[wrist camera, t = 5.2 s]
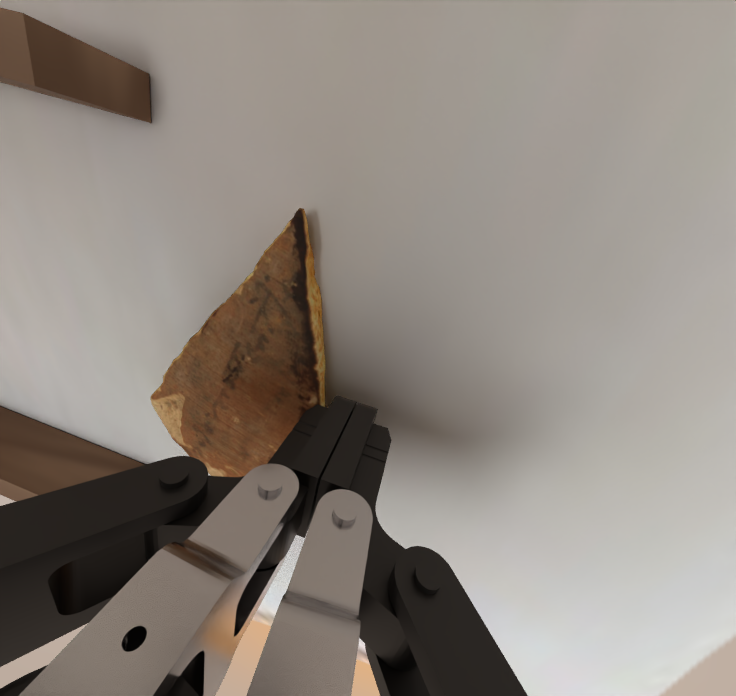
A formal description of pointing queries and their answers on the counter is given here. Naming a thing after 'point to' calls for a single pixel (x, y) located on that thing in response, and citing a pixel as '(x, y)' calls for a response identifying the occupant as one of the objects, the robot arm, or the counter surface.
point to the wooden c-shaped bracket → (99, 90)
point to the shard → (251, 363)
